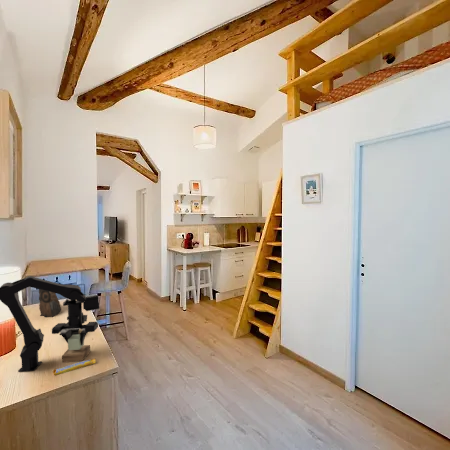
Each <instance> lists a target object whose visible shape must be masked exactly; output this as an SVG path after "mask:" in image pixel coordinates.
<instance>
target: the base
mask: <svg viewBox="0 0 450 450" xmlns="http://www.w3.org/2000/svg"><path fill="white" fill-rule="evenodd" d="M90 352H91V344H84V345H83V346H82V347H81V348H80V350H68V349H67V350H66V351H64V353H63V354H62V355H61V363H72V362H76V363H77V362H83V361H85V359H86V357H87V356H88V355H89V353H90Z"/></svg>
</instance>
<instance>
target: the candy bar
mask: <svg viewBox="0 0 450 450" xmlns="http://www.w3.org/2000/svg"><path fill="white" fill-rule="evenodd" d="M96 363H97V361H96V358H92V359H91V358H90V359H88V360H83V361H78V362H76V363H73V364H69V365H66V366H63V367H60V368H54V370H52V373H53V376H58V375H61V374H64V373H68V372H71V371H75V370H79V369H82V368H85V367H86V368H87V367H89V366H92V365H93V364H96Z"/></svg>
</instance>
